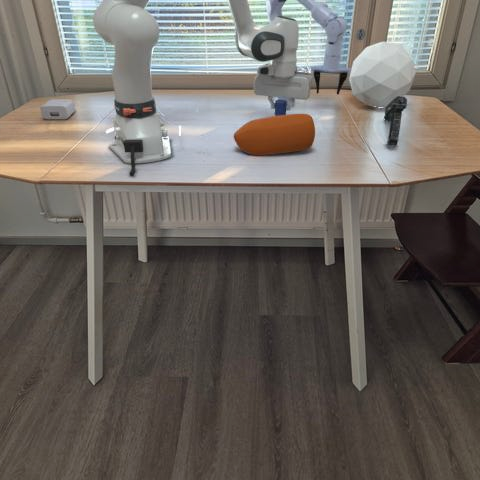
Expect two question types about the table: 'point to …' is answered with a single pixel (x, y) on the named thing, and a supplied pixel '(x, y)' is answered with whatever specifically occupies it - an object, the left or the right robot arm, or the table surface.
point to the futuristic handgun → (395, 118)
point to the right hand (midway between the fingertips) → (327, 93)
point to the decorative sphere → (381, 74)
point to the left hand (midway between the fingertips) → (280, 109)
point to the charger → (57, 109)
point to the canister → (280, 107)
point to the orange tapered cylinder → (276, 134)
